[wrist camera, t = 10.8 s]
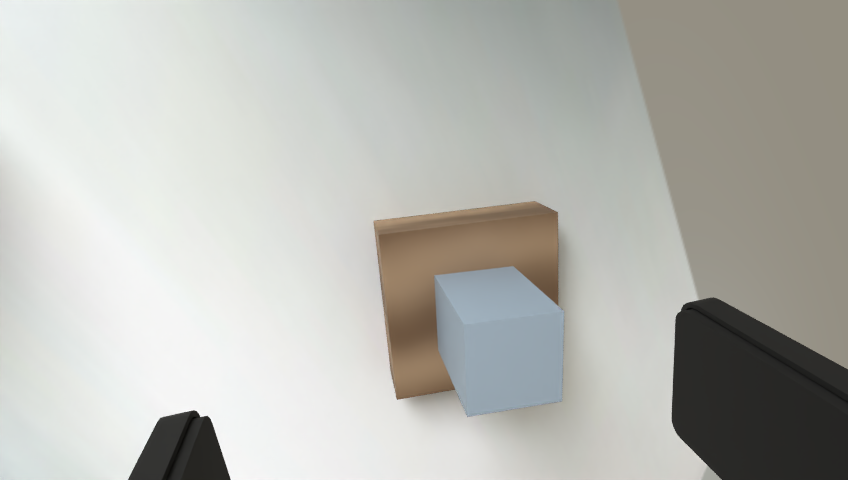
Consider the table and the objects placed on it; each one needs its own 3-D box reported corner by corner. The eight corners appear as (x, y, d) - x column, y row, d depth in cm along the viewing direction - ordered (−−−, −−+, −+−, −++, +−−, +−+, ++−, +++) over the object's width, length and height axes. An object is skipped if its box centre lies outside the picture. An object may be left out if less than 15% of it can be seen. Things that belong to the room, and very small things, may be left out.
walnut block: (373, 219, 32) (378, 234, 28) (532, 200, 34) (557, 212, 30) (390, 367, 35) (396, 399, 31) (535, 343, 37) (558, 371, 33)
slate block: (434, 275, 29) (464, 324, 23) (513, 266, 30) (564, 311, 24) (438, 349, 31) (467, 416, 24) (513, 339, 32) (562, 401, 25)
